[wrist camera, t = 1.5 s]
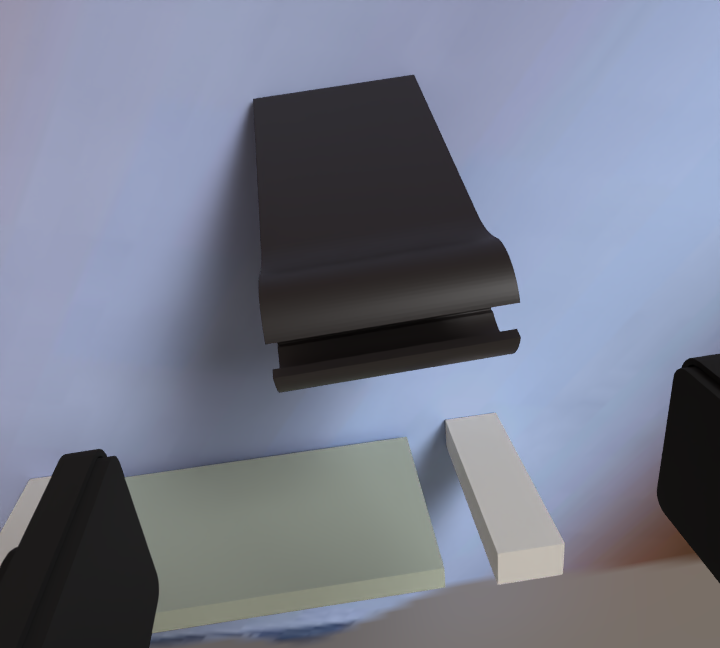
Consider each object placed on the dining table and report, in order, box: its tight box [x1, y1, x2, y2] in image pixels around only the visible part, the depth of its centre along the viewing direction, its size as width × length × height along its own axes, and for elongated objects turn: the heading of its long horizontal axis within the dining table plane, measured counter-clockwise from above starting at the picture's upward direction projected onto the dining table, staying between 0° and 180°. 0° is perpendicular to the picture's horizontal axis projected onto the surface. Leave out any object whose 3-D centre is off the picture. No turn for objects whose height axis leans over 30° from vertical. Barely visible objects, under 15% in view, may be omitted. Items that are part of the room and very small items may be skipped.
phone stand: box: [253, 75, 521, 393], centre depth 20 cm, size 9×6×12 cm, turn 7°
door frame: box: [0, 413, 565, 585], centre depth 26 cm, size 22×2×10 cm, turn 96°
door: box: [125, 437, 445, 633], centre depth 26 cm, size 16×1×9 cm, turn 96°
